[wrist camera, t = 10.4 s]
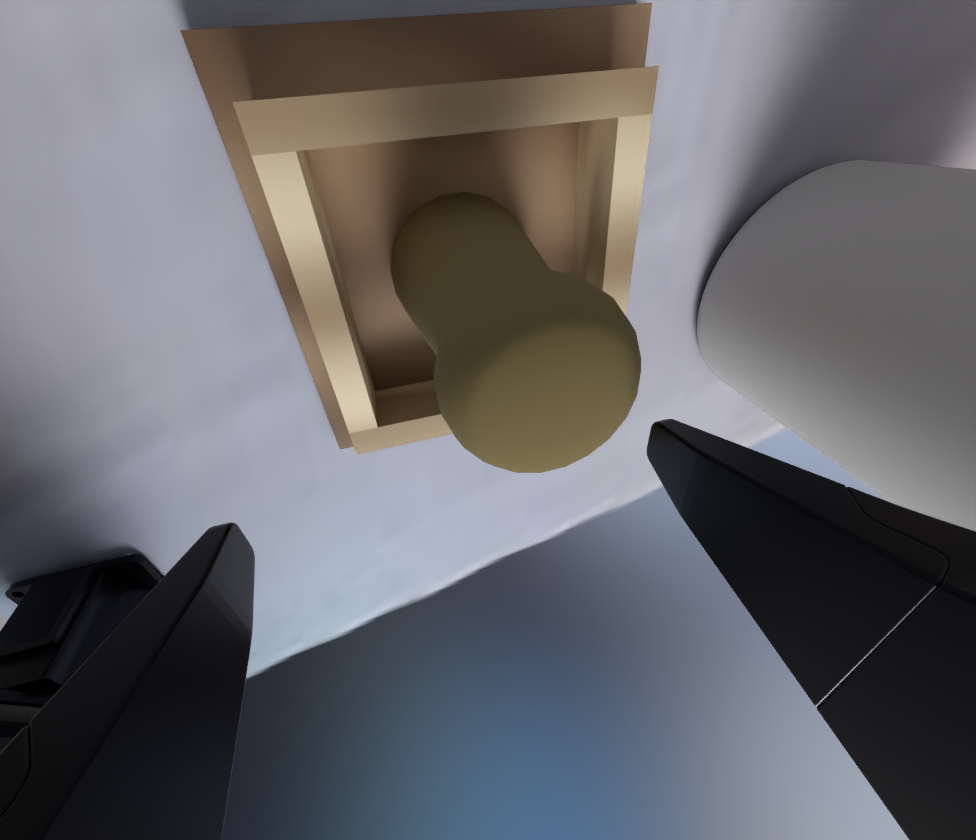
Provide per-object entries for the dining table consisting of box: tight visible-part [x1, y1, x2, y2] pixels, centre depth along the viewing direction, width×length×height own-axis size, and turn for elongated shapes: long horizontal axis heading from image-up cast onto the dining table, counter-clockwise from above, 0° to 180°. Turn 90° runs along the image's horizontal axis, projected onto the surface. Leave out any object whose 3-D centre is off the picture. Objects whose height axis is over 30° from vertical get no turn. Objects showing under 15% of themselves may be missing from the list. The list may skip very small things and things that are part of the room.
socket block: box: [180, 3, 659, 454], centre depth 17 cm, size 16×15×4 cm
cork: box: [391, 192, 641, 473], centre depth 14 cm, size 6×6×11 cm
